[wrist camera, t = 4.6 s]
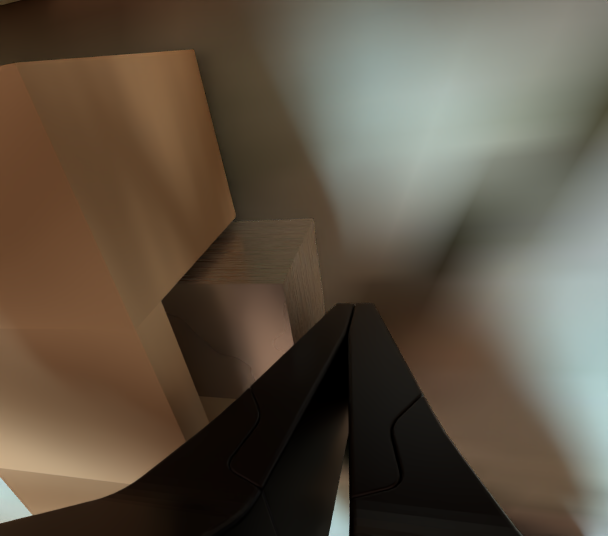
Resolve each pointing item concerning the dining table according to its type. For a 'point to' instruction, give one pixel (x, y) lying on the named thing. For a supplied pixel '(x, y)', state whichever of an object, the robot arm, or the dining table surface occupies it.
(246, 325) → the pinkish brown square bar
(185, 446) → the robot arm
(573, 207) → the dining table surface
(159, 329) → the tan u-shaped block
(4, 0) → the cradle
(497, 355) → the dining table surface
